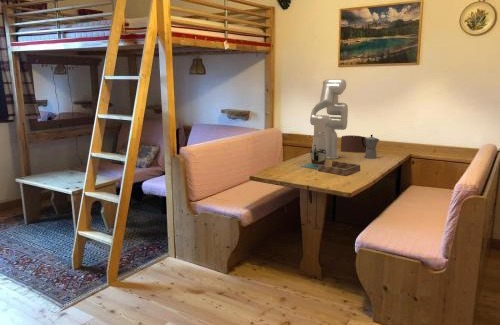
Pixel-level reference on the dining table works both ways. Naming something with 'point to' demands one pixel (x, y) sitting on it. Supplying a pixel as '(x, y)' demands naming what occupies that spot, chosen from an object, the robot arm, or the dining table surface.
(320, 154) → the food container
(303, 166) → the mat
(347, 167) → the frame
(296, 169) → the dining table surface
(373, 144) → the coffeepot
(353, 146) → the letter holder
